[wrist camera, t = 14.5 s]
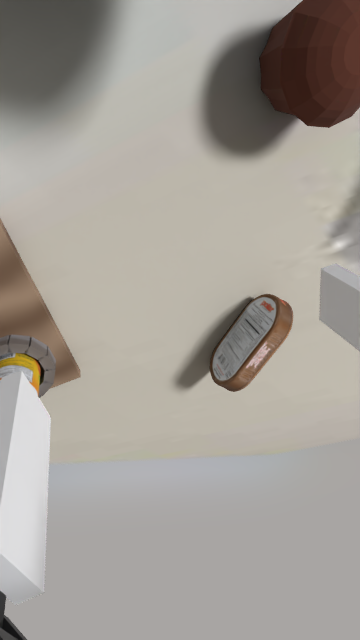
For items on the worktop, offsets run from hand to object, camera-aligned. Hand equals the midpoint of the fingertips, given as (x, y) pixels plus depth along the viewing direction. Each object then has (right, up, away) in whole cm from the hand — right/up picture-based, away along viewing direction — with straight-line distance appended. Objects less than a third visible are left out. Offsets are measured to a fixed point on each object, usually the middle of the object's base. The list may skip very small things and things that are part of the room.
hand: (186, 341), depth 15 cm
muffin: (+12, +28, +23) cm, 38 cm away
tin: (+8, 0, +37) cm, 38 cm away
